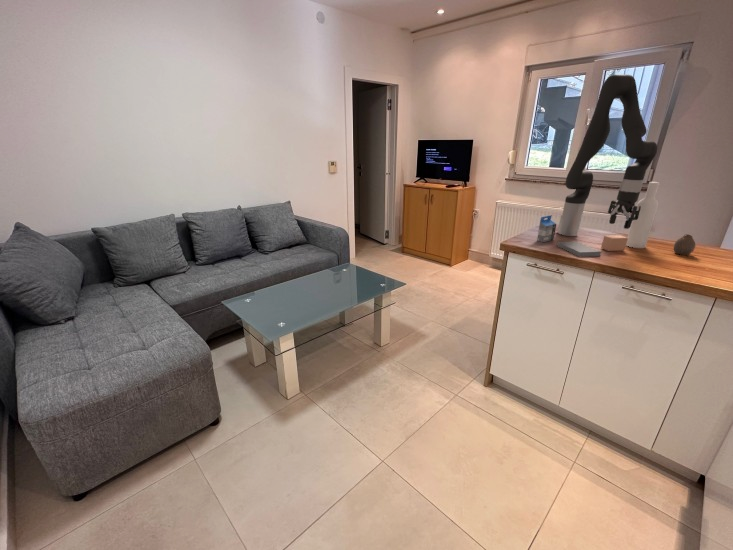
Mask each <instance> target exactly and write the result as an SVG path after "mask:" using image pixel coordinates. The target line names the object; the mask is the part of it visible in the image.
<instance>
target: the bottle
mask: <svg viewBox="0 0 733 550" xmlns="http://www.w3.org/2000/svg"><path fill="white" fill-rule="evenodd" d="M659 187H660V182H657V181H649V182H648V184H647V188H646V189H647V190H646V192H645V195H644V197H643V198H642V199H639V201H637V204H636V206H641V209H640V212H639V216H638V219H637V220H633V221H632V223H631V226H630V228H629V229H628V234H627V236H626V237H627V238H628V240H627V243H626V247H628V246H629V247H630V248H632V247H633V248H632V249H645V248H646V246H647V244H648V240H649V237H650V234H651V230H652V227H653V224H654V220H655V218H656V214H657V211H658V208H659V201H658V200H657V198H656V196H657V192H658V189H659ZM634 217H635V215H634ZM629 247H628V248H629Z"/></svg>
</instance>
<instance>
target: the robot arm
mask: <svg viewBox="0 0 733 550" xmlns="http://www.w3.org/2000/svg"><path fill="white" fill-rule="evenodd" d="M615 99H619V100H620V102H621V103H622V107H623V112H622V116H621V126H622V127H621V128H622V131H623V134H624V136H625V152H626V155H627V156H628V157H629V158H630V159H631V160H635V162H634V163H632V164H629V165H627V167H626V168H625V171H624V174H623V179H622V181H621V183H620V185H619V190H618V193H617V197H616V200H611V201H610V205H609V207H608V209H607V210H608V211H607V214H609V215H610V217H609V222H608V223H609V224H612V225H614V224H615V223H616V220H617V217H618V216H617V215H618V214H619V213H621V214H624V216H625V218H626V220H625V222H624V225H623V229H625V230H627V229H628V230H629V229H630V226H631V223H632V221H633V220H637V219H638V216H639V212H640V209H641V206H637V205H636V204H635V203H638V200H639V198H640V197H639V196H640V194H641V190H642V188H643V182H644V179H645V176H646V172H647V170H648V168H649V167H650V166H651V164H652V162H653V161H654V159H655V156H656V154H657V152H658V144H657V143H656V142H655V141H653V140H643V137H644V136H645V135H646V134H647V128H646V127H647V126H646V124H645V122H644V117H642V114H641V109H640V102H639V96H638V88H637V83H636V80H635V77H634V76H633V75H632V74H612V75H609V76H608V77H607V78H606V79H605V81H604V82H603V83H602V86H601V88H600V91H599V95H598V98H597V102H596V105H595V109H594V112H593V114H592V117H591V120H590V123H589V124H588V125H589V126H588V128H587V130H586V132H585V134H584V137H583V140H582V143H581V144H580V148H579V150H578V153H577V155H576V157H575V159H574V161H573V163H572V166H571V167H570V169H569V172H568V174H567V175H566V179H565V188H567V189H568V190H575V191H574V192H573V193H571V194H568V195H567V196H566V197H565V200H564V204H563V210H562V214H561V215H560V219H559V224H558V228H557V233H558V234H559V235H561V234H562V236H565V237H567V236H568V237H576V236H578V235H579V230H580V225H581V222H582V218H583V214H584V210H585V205H586V202H587V199H589V196H590V193H591V189H592V186H593V182H594V175H593V172H592V171H591V170H585V168H586V166H587V164H588V163H589V162H590V161H591V159H593V157H595V156H596V155H597V154H598V153H599V152H600V151H601V149H603V147H604V146H605V143H606V142H607V139H608V137H609V136H610V135H609V134H610V133H611V132H610V131H611V122H610V121H611V119H610V110H611V107H612V105H613V103H614V100H615ZM634 215H635V217H634Z"/></svg>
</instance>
